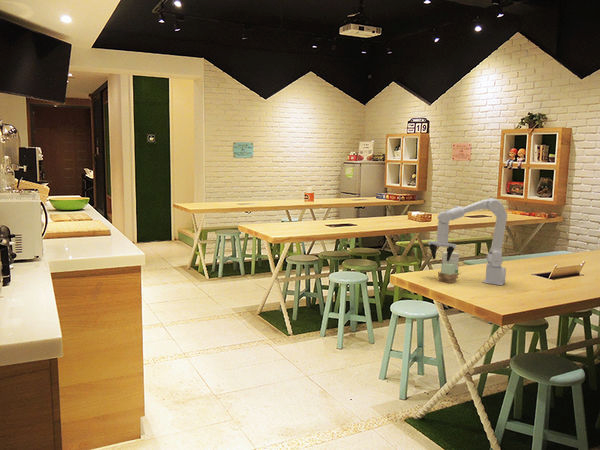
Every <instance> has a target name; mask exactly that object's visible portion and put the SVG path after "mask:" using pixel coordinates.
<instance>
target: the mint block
mask: <svg viewBox="0 0 600 450" xmlns="http://www.w3.org/2000/svg"><path fill="white" fill-rule="evenodd" d="M441 266H442V273H443V274H448V275H452V274H455V266H456V264H452V263H443V264H442V263H441Z"/></svg>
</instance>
